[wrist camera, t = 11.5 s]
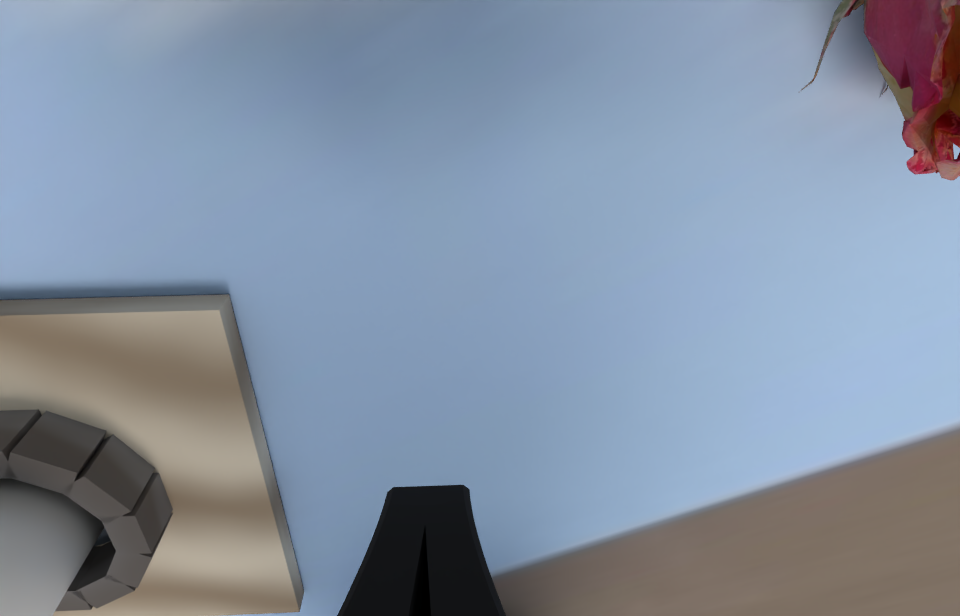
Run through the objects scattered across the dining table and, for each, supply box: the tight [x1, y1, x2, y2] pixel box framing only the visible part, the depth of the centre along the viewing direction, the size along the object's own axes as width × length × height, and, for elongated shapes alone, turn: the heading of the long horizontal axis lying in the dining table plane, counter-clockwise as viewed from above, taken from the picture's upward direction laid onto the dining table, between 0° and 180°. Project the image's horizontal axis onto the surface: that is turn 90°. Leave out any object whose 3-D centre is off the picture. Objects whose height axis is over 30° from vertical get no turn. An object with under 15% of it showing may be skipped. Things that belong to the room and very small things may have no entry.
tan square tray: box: [0, 294, 304, 616], centre depth 23 cm, size 16×16×3 cm
